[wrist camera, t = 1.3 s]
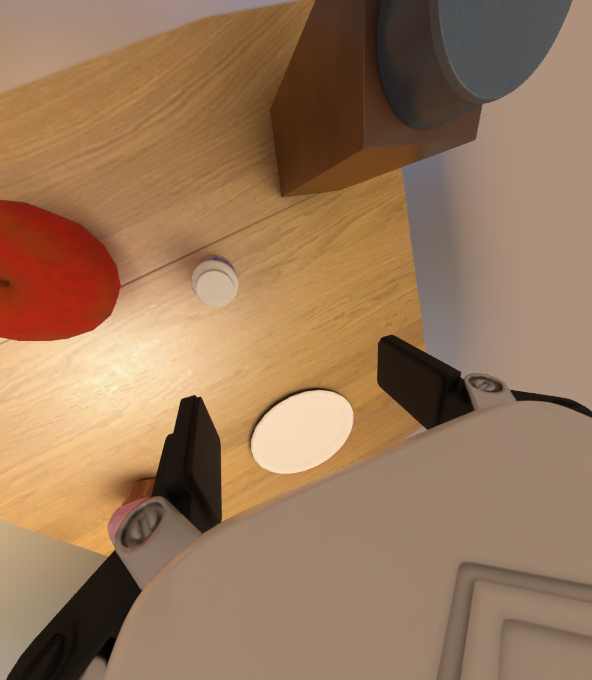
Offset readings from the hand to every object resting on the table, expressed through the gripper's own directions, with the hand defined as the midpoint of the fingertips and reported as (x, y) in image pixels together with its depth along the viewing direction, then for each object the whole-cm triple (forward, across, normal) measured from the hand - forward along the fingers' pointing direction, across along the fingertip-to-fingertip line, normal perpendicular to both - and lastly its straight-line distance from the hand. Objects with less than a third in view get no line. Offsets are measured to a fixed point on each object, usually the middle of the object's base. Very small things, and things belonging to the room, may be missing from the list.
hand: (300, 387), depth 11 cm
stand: (+26, -13, -16) cm, 33 cm away
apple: (+27, +18, -7) cm, 33 cm away
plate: (+27, -5, +36) cm, 45 cm away
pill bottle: (+27, +4, -3) cm, 27 cm away
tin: (+6, -12, -15) cm, 21 cm away
